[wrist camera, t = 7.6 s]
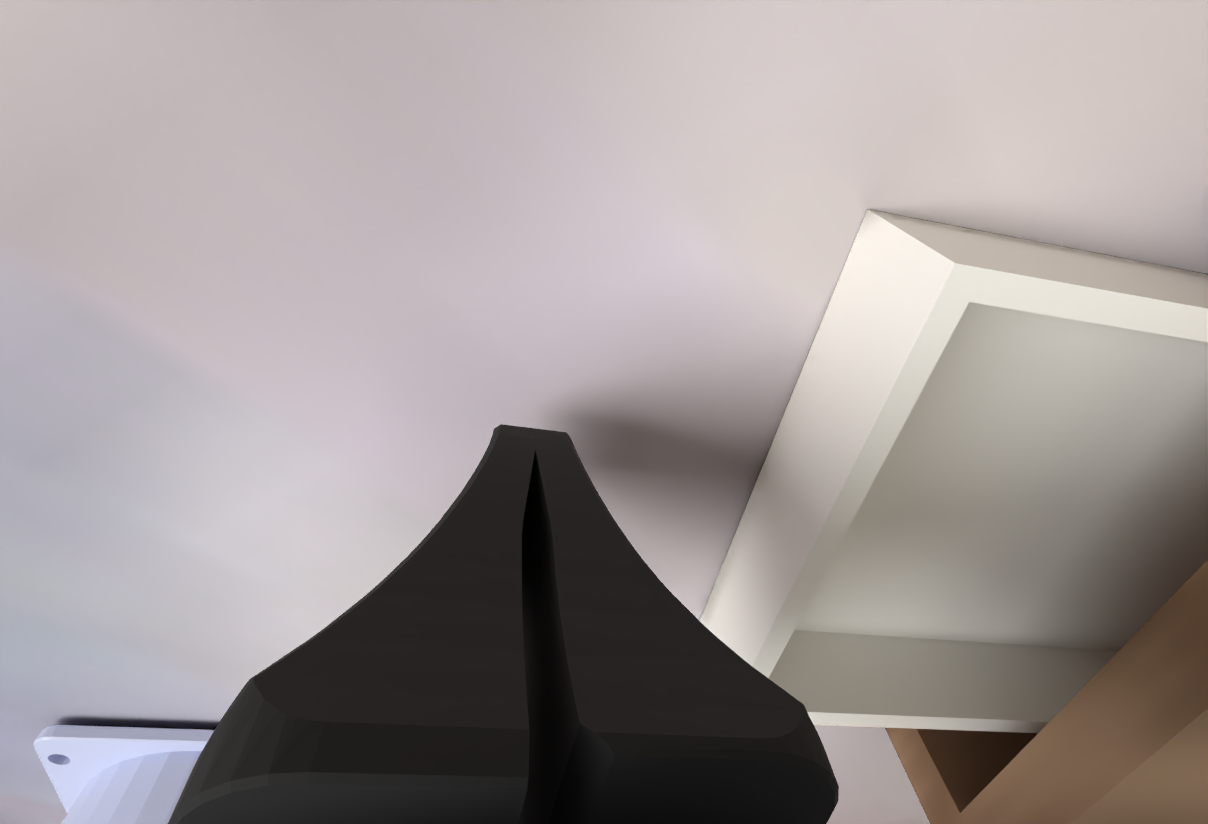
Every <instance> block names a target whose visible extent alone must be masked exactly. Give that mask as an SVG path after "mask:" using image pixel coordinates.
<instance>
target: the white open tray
mask: <svg viewBox="0 0 1208 824" xmlns="http://www.w3.org/2000/svg"><path fill="white" fill-rule="evenodd" d="M1207 560H1208V274H1204V273H1198V272H1193V271H1188V270H1183V269H1177V268H1172V267H1167V266H1162V265H1157V264H1151V263H1146V262H1141V261H1136V260H1130V259H1125V258H1120V257H1115V256H1109V255H1104V254H1099V253H1094V252H1089V251H1083V250H1078V249H1073V248H1068V247H1062V246H1057V245H1052V244H1047V243H1041V242H1036V241H1031V240H1026V239H1021V238H1015V237H1010V236H1005V235H1000V234H994V233H989V232H984V231H979V230H973V229H968V228H963V227H958V226H953V225H947V224H942V223H937V222H932V221H926V220H921V219H916V218H911V217H905V216H900V215H895V214H890V213H885V212H879V211H874V210H869V209H868V210H867V212H866V214H865V217H864V219H863V222H862V224H861V227H860V229H859V232H858V234H857V236H856V239H855V241H854V244H853V246H852V249H851V251H850V254H849V256H848V259H847V261H846V263H845V266H844V268H843V271H842V273H841V276H840V278H839V281H838V283H837V285H836V288H835V290H834V293H833V295H832V298H831V300H830V303H829V305H828V308H827V310H826V312H825V315H824V317H823V320H822V322H821V325H820V327H819V330H818V332H817V334H816V337H815V339H814V342H813V344H812V347H811V349H810V352H809V354H808V356H807V359H806V361H805V364H804V366H803V369H802V371H801V374H800V376H799V379H798V381H797V383H796V386H795V388H794V391H793V393H792V396H791V398H790V401H789V403H788V405H787V408H786V410H785V413H784V415H783V418H782V420H781V423H780V425H779V427H778V430H777V432H776V435H775V437H774V440H773V442H772V445H771V447H770V450H769V452H768V454H767V457H766V459H765V462H764V464H763V467H762V469H761V472H760V474H759V476H758V479H757V481H756V484H755V486H754V489H753V491H752V494H751V496H750V499H749V501H748V503H747V506H746V508H745V511H744V513H743V516H742V518H741V521H740V523H739V525H738V528H737V530H736V533H735V535H734V538H733V540H732V543H731V545H730V547H729V550H728V552H727V555H726V557H725V560H724V562H723V565H722V567H721V570H720V572H719V574H718V577H717V579H716V582H715V584H714V587H713V589H712V592H711V594H710V596H709V599H708V601H707V604H706V606H705V609H704V611H703V614H702V616H701V618H700V622H701V623H702V624H703V625H704V626H705V627H706V628H707V629H709V630H710V631H711V632H712V633H713V634H714V635H715V636H716V637H717V638H719V639H720V640H721V641H722V642H723V643H725V644H726V645H727V646H728V647H729V648H730V649H732V650H733V651H734V652H735V653H736V654H738V655H739V656H740V657H741V658H742V659H743V660H745V661H746V662H747V663H748V664H750V665H751V666H752V667H754V668H755V669H756V670H758V671H759V672H760V673H762V674H763V675H765V676H766V677H767V678H769V679H770V680H771V681H773V682H774V683H775V684H777V685H778V686H779V687H781V688H782V689H784V690H785V691H786V692H788V693H789V694H790V695H792V696H793V697H794V698H796V699H797V700H798V701H800V702H801V703H803V704H804V706H805V708H806V710H807V713H808V715H809V717H810V719H811V721H812V723H813V725H830V726H858V727H885V728H912V729H939V730H966V731H993V732H1020V733H1039V732H1040V731H1041V730H1042V729H1043V728H1044V727H1045V726H1046V725H1047V724H1048V723H1049V722H1050V721H1051V720H1052V719H1053V718H1054V717H1055V716H1056V715H1057V714H1058V713H1059V712H1060V711H1061V710H1062V709H1063V707H1064V706H1065V705H1066V704H1067V703H1068V702H1069V701H1070V700H1071V699H1072V698H1073V697H1074V696H1075V695H1076V694H1077V693H1078V692H1079V691H1080V690H1081V689H1082V688H1083V687H1084V686H1085V685H1086V684H1087V683H1088V682H1089V681H1090V680H1091V679H1092V678H1093V677H1094V676H1095V675H1096V674H1097V673H1098V672H1099V671H1100V670H1101V669H1102V668H1103V667H1104V666H1105V665H1106V664H1107V663H1108V661H1109V660H1110V659H1111V658H1112V657H1113V656H1114V655H1115V654H1116V653H1117V652H1118V651H1119V650H1120V649H1121V648H1122V647H1123V646H1124V645H1125V644H1126V643H1127V642H1128V641H1129V640H1130V639H1131V638H1132V637H1133V636H1134V635H1135V634H1136V633H1137V632H1138V631H1139V630H1140V629H1141V628H1142V627H1143V626H1144V625H1145V624H1146V623H1147V622H1148V621H1149V620H1150V619H1151V618H1152V617H1153V615H1154V614H1155V613H1156V612H1157V611H1158V610H1159V609H1160V608H1161V607H1162V606H1163V605H1164V604H1165V603H1166V602H1167V601H1168V600H1169V599H1170V598H1171V597H1172V596H1173V595H1174V594H1175V593H1176V592H1177V591H1178V590H1179V589H1180V588H1181V587H1182V586H1183V585H1184V584H1185V583H1186V582H1187V581H1188V580H1189V579H1190V578H1191V577H1192V576H1193V575H1194V574H1195V573H1196V572H1197V571H1198V569H1199V568H1200V567H1201V566H1202V565H1203V564H1204V563H1205V562H1206V561H1207Z"/></svg>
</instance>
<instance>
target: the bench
mask: <svg viewBox="0 0 1208 824" xmlns="http://www.w3.org/2000/svg"><path fill="white" fill-rule="evenodd" d="M885 729H886V731H887V733H888V735H889V737H890V739H891V741H892V744H893V746H894V748H895V750H896V752H897V754H898V756H899V758H900V760H901V763H902V765H903V767H904V769H905V771H906V773H907V775H908V777H909V779H910V782H911V784H912V786H913V788H914V790H915V792H916V794H917V796H918V798H919V801H920V803H921V805H922V807H923V809H924V811H925V813H926V815H927V817H928V820H929V822H930V824H1208V560H1207V561H1206V562H1205V563H1204V564H1203V565H1202V566H1201V567H1200V568H1199V569H1198V571H1197V572H1196V573H1195V574H1194V575H1193V576H1192V577H1191V578H1190V579H1189V580H1188V581H1187V582H1186V583H1185V584H1184V585H1183V586H1182V587H1181V588H1180V589H1179V590H1178V591H1177V592H1176V593H1175V594H1174V595H1173V596H1172V597H1171V598H1170V599H1169V600H1168V601H1167V602H1166V603H1165V604H1164V605H1163V606H1162V607H1161V608H1160V609H1159V610H1158V611H1157V612H1156V613H1155V614H1154V615H1153V617H1152V618H1151V619H1150V620H1149V621H1148V622H1147V623H1146V624H1145V625H1144V626H1143V627H1142V628H1141V629H1140V630H1139V631H1138V632H1137V633H1136V634H1135V635H1134V636H1133V637H1132V638H1131V639H1130V640H1129V641H1128V642H1127V643H1126V644H1125V645H1124V646H1123V647H1122V648H1121V649H1120V650H1119V651H1118V652H1117V653H1116V654H1115V655H1114V656H1113V657H1112V658H1111V659H1110V660H1109V661H1108V663H1107V664H1106V665H1105V666H1104V667H1103V668H1102V669H1101V670H1100V671H1099V672H1098V673H1097V674H1096V675H1095V676H1094V677H1093V678H1092V679H1091V680H1090V681H1089V682H1088V683H1087V684H1086V685H1085V686H1084V687H1083V688H1082V689H1081V690H1080V691H1079V692H1078V693H1077V694H1076V695H1075V696H1074V697H1073V698H1072V699H1071V700H1070V701H1069V702H1068V703H1067V704H1066V705H1065V706H1064V707H1063V709H1062V710H1061V711H1060V712H1059V713H1058V714H1057V715H1056V716H1055V717H1054V718H1053V719H1052V720H1051V721H1050V722H1049V723H1048V724H1047V725H1046V726H1045V727H1044V728H1043V729H1042V730H1041V731H1040V732H1039V733H1020V732H993V731H966V730H939V729H912V728H885Z"/></svg>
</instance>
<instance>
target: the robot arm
mask: <svg viewBox="0 0 1208 824" xmlns="http://www.w3.org/2000/svg"><path fill="white" fill-rule="evenodd" d="M34 748H35V750H36V752H37V754H38V756H39V758H40V760H41V762H42V764H43V766H44V768H45V770H46V772H47V774H48V776H49V778H50V780H51V782H52V784H53V786H54V788H55V790H56V792H57V794H58V796H59V798H60V800H61V802H62V804H63V806H64V808H65V810H66V812H67V815H66V817H65V818H64V820H63V822H62V823H61V824H826V823H827V821H828V820H829V818H830V816H831V814H832V812H833V810H834V808H835V806H836V804H837V802H838V789H839V786H838V784H837V781H836V778H835V776H834V773H833V770H832V768H831V765H830V763H829V760H828V757H827V754H826V752H825V749H824V747H823V745H822V742H821V740H820V737H819V735H818V733H817V731H816V729H815V727H814V725H813V723H812V721H811V719H810V717H809V715H808V713H807V710H806V708H805V706H804V704H803V703H801V702H800V701H798V700H797V699H796V698H794V697H793V696H792V695H790V694H789V693H788V692H786V691H785V690H784V689H782V688H781V687H779V686H778V685H777V684H775V683H774V682H773V681H771V680H770V679H769V678H767V677H766V676H765V675H763V674H762V673H760V672H759V671H758V670H756V669H755V668H754V667H752V666H751V665H750V664H748V663H747V662H746V661H745V660H743V659H742V658H741V657H740V656H739V655H738V654H736V653H735V652H734V651H733V650H732V649H730V648H729V647H728V646H727V645H726V644H725V643H723V642H722V641H721V640H720V639H719V638H717V637H716V636H715V635H714V634H713V633H712V632H711V631H710V630H709V629H707V628H706V627H705V626H704V625H703V624H702V623H701V622H700V621H699V620H698V619H697V618H696V617H695V616H694V615H693V614H692V613H691V612H690V611H689V610H688V609H687V608H686V607H685V606H684V605H683V604H682V603H681V602H680V601H679V600H678V599H677V598H676V597H675V596H674V595H673V594H672V593H671V592H670V591H669V590H668V589H667V588H666V587H665V586H664V585H663V583H662V582H661V581H660V580H659V579H658V578H657V577H656V575H655V574H654V573H653V572H652V570H651V569H650V568H649V567H648V566H647V564H646V563H645V562H644V561H643V559H642V558H641V557H640V556H639V554H638V553H637V552H636V550H635V549H634V548H633V546H632V545H631V543H630V542H629V541H628V539H627V538H626V536H625V535H624V533H623V532H622V531H621V529H620V528H619V526H618V525H617V523H616V522H615V520H614V519H613V517H612V515H611V514H610V512H609V511H608V509H607V507H606V506H605V504H604V502H603V501H602V499H601V497H600V496H599V494H598V492H597V491H596V489H595V487H594V485H593V483H592V482H591V480H590V478H589V476H588V474H587V472H586V470H585V468H584V466H583V464H582V462H581V460H580V458H579V456H578V454H577V452H576V449H575V447H574V445H573V442H572V440H571V438H570V437H569V435H568V434H567V433H566V432H558V431H550V430H541V429H533V428H525V427H517V426H509V425H499V426H498V427H496V428H495V429H494V431H493V436H492V438H491V441H490V444H489V446H488V448H487V450H486V452H485V454H484V456H483V458H482V460H481V462H480V463H479V465H478V467H477V468H476V470H475V472H474V473H473V475H472V476H471V478H470V480H469V481H468V483H467V484H466V486H465V487H464V489H463V490H462V492H461V493H460V495H459V496H458V497H457V499H456V500H455V501H454V503H453V504H452V505H451V507H450V508H449V509H448V510H447V512H446V513H445V514H444V516H443V517H442V518H441V520H440V521H439V522H438V523H437V524H436V526H435V527H434V528H433V529H432V530H431V532H430V533H429V534H428V535H427V536H426V537H425V538H424V540H423V541H422V542H421V543H420V544H419V545H418V546H417V547H416V548H415V549H414V550H413V551H412V552H411V553H410V554H409V556H408V557H407V558H406V559H405V560H403V561H402V562H401V563H400V564H399V565H398V566H397V567H396V568H395V569H394V570H393V571H392V572H391V573H390V574H389V575H388V576H387V577H386V578H385V579H384V580H383V581H382V582H380V583H379V584H378V585H377V586H376V587H375V588H374V589H373V590H371V591H370V592H369V593H368V594H367V595H366V596H364V597H363V598H362V599H361V600H359V601H358V602H357V603H356V604H354V605H353V606H352V607H351V608H349V609H348V610H347V611H346V612H344V613H343V614H342V615H341V616H339V617H338V618H337V619H336V620H334V621H333V622H332V623H331V624H329V625H328V626H327V627H325V628H324V629H323V630H322V631H320V632H319V633H317V634H316V635H315V636H313V637H312V638H311V639H309V640H308V641H306V642H305V643H303V644H302V645H300V646H299V647H297V648H296V649H294V650H293V651H291V652H290V653H288V654H287V655H285V656H284V657H282V658H281V659H279V660H278V661H276V662H275V663H273V664H272V665H271V666H269V667H268V668H266V669H265V670H263V671H262V672H260V673H259V674H257V675H255V676H254V677H252V678H251V679H250V680H249V681H248V682H247V684H246V685H245V686H244V688H243V689H242V690H241V692H240V693H239V695H238V696H237V697H236V699H235V700H234V702H233V703H232V704H231V706H230V707H229V709H228V710H227V712H226V713H225V715H224V716H223V718H222V719H221V721H220V722H219V724H218V726H217V727H216V729H215V730H203V729H172V728H141V727H110V726H79V725H52V726H49V727H47V728H44V729H43V730H42V732H41V733H40V734H39V736H38V737H37V739H36V740H35V742H34Z"/></svg>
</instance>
